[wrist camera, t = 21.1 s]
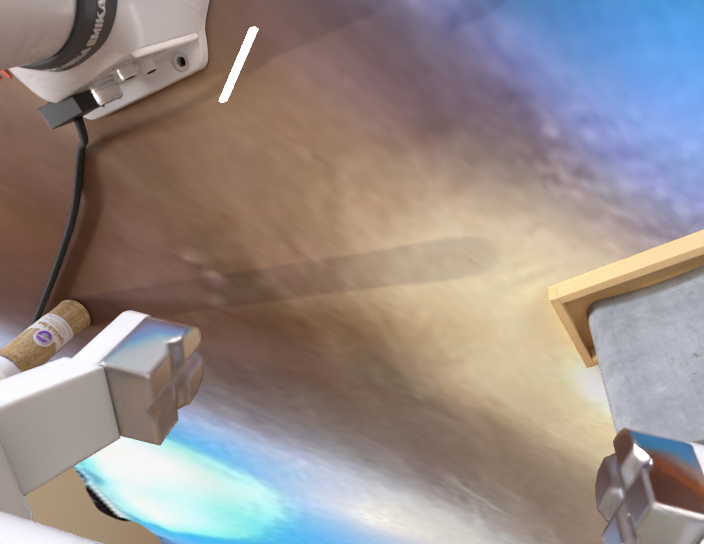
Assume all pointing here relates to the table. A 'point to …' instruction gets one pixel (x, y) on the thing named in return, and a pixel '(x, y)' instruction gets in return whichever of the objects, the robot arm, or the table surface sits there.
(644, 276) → the flask stand
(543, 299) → the table surface
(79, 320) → the sprinkles bottle
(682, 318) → the hip flask
